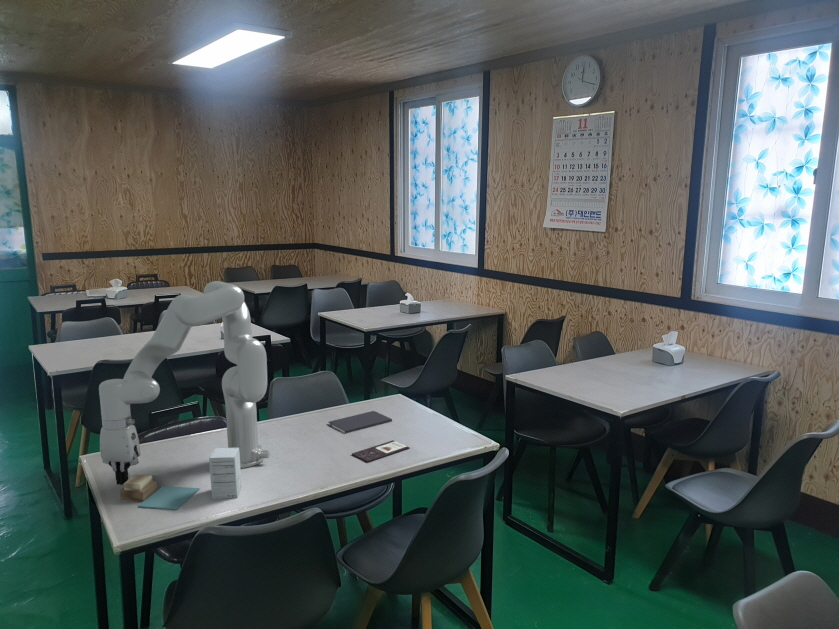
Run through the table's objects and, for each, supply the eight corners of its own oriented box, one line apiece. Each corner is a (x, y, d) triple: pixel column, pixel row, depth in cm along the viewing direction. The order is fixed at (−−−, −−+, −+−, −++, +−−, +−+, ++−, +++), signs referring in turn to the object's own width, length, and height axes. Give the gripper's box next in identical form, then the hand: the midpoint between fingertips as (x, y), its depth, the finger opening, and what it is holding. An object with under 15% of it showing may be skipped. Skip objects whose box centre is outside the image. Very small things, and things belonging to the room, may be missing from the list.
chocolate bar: (351, 453, 213) (392, 440, 225) (351, 456, 213) (392, 442, 225) (367, 461, 207) (409, 447, 218) (367, 464, 207) (409, 450, 218)
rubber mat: (199, 489, 188) (199, 488, 188) (176, 510, 175) (176, 508, 175) (163, 486, 190) (163, 485, 190) (137, 507, 177) (137, 505, 177)
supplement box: (216, 488, 189) (214, 447, 187) (242, 487, 190) (240, 446, 187) (211, 499, 182) (208, 457, 180) (237, 498, 182) (235, 456, 180)
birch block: (152, 481, 186) (151, 475, 186) (140, 491, 180) (139, 484, 180) (136, 480, 187) (136, 474, 187) (124, 489, 181) (123, 483, 181)
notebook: (344, 435, 233) (392, 422, 246) (344, 431, 233) (392, 418, 246) (327, 425, 243) (373, 414, 256) (327, 421, 243) (373, 410, 255)
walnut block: (157, 490, 187) (156, 481, 187) (143, 501, 180) (142, 492, 180) (135, 489, 188) (134, 479, 188) (121, 500, 181) (120, 490, 181)
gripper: (148, 419, 184) (153, 478, 187) (101, 417, 186) (107, 475, 189) (133, 428, 176) (138, 490, 180) (84, 425, 179) (90, 486, 182)
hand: (122, 482), depth 184 cm, fingers closed
